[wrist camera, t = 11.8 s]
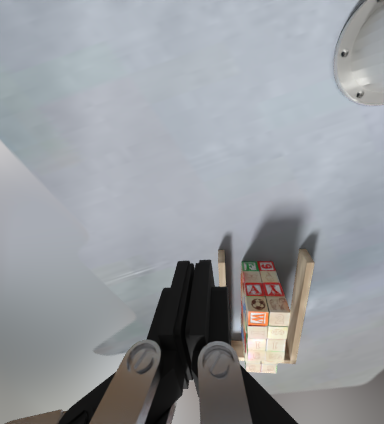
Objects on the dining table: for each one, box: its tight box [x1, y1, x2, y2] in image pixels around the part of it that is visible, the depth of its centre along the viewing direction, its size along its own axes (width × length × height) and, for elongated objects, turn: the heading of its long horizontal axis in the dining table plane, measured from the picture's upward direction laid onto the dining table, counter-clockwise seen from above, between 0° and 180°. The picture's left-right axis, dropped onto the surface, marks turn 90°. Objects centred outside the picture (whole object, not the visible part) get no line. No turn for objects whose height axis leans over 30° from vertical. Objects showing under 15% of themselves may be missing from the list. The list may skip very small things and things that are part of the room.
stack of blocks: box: [241, 261, 290, 373], centre depth 42 cm, size 21×6×12 cm, turn 6°
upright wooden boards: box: [218, 249, 314, 364], centre depth 46 cm, size 16×29×4 cm, turn 6°
